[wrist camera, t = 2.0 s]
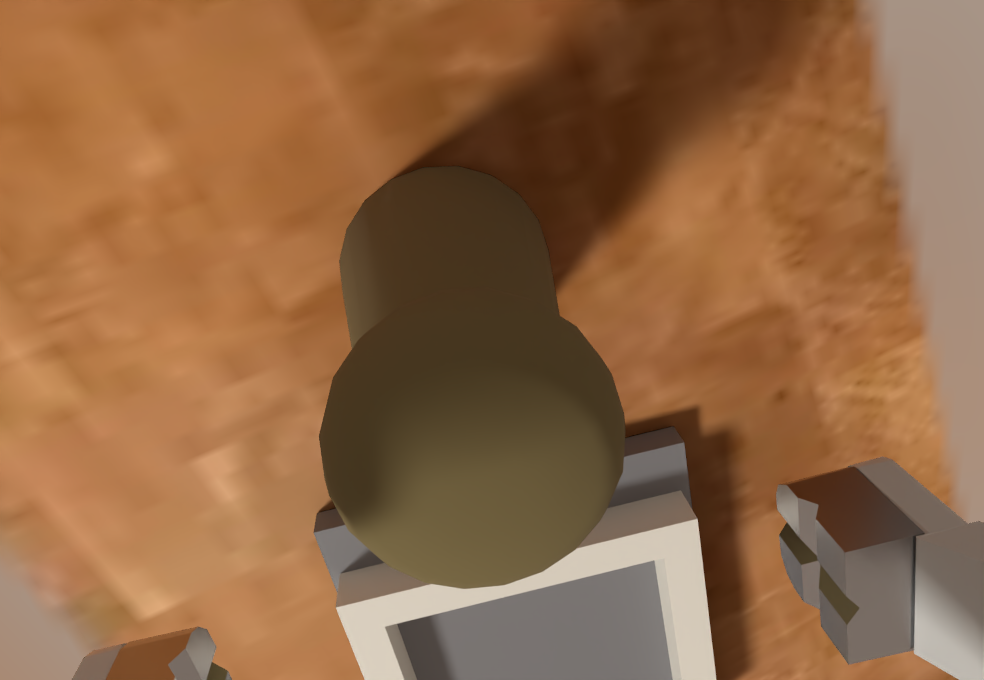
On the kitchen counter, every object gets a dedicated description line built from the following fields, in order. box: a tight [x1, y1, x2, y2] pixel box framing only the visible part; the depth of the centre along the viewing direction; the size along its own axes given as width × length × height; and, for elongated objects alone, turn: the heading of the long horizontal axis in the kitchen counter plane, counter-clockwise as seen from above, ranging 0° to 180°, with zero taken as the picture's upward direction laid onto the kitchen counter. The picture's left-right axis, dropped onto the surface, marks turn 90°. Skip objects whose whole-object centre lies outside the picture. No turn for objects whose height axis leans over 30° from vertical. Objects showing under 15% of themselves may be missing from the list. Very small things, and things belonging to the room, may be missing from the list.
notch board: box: [314, 426, 716, 680], centre depth 26 cm, size 15×12×2 cm
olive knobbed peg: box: [319, 166, 625, 589], centre depth 16 cm, size 6×6×11 cm
